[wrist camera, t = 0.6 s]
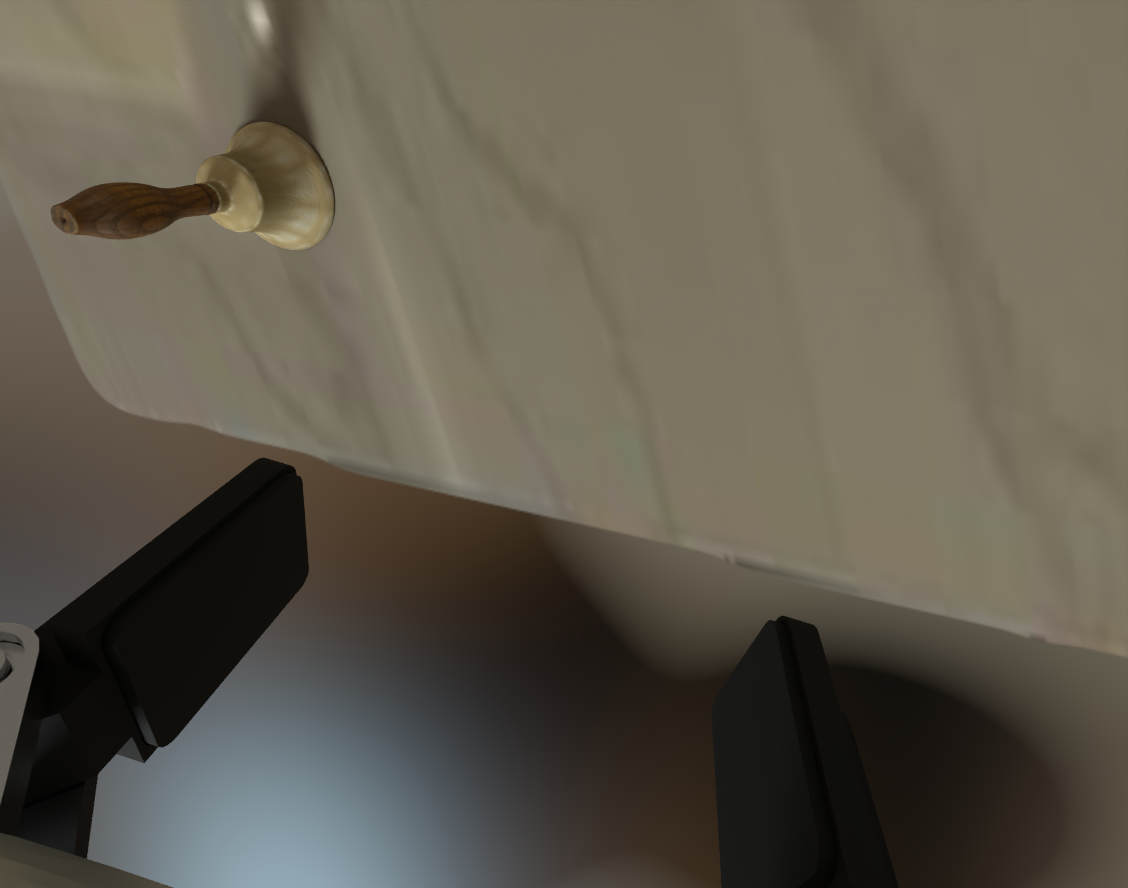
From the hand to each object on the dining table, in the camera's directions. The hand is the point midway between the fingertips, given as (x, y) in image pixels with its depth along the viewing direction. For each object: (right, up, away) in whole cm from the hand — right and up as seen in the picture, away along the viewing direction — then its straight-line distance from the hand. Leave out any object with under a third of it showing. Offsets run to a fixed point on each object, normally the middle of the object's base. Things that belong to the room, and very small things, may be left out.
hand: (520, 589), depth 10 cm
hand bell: (-20, +21, +27) cm, 40 cm away
